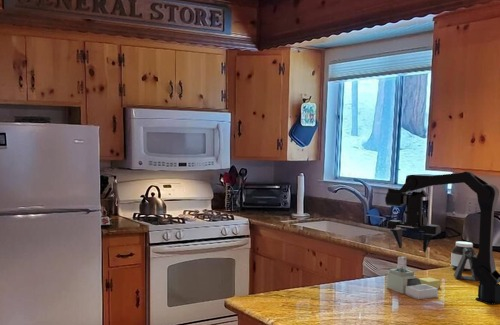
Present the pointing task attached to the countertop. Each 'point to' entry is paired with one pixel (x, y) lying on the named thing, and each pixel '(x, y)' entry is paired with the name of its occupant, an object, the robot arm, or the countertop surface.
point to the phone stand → (462, 264)
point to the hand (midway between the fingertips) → (412, 249)
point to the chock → (430, 282)
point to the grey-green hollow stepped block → (401, 280)
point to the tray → (421, 291)
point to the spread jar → (458, 253)
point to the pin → (401, 264)
